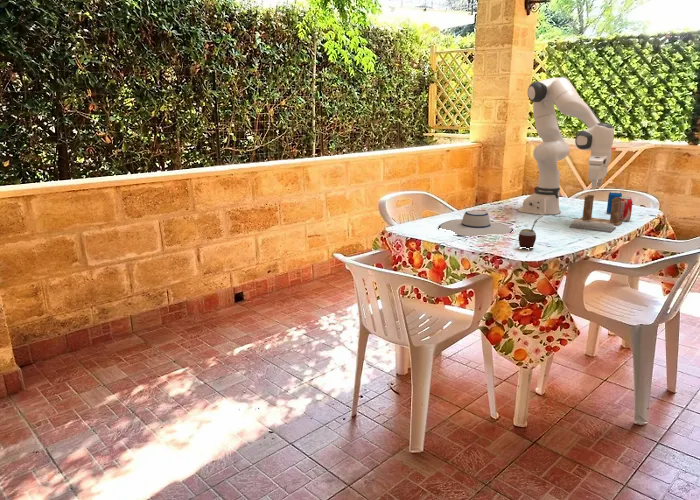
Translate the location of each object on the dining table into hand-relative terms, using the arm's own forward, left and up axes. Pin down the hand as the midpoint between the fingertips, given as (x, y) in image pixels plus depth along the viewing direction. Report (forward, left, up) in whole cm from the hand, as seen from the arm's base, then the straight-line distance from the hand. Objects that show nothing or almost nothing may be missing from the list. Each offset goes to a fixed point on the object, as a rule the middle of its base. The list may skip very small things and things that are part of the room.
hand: (596, 187), depth 248 cm
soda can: (+9, +25, -20) cm, 33 cm away
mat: (0, 0, -20) cm, 20 cm away
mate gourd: (-12, -53, -20) cm, 58 cm away
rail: (0, 0, -19) cm, 19 cm away
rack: (0, +15, -20) cm, 25 cm away
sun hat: (-46, -32, -21) cm, 60 cm away
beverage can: (+1, +40, -20) cm, 45 cm away
